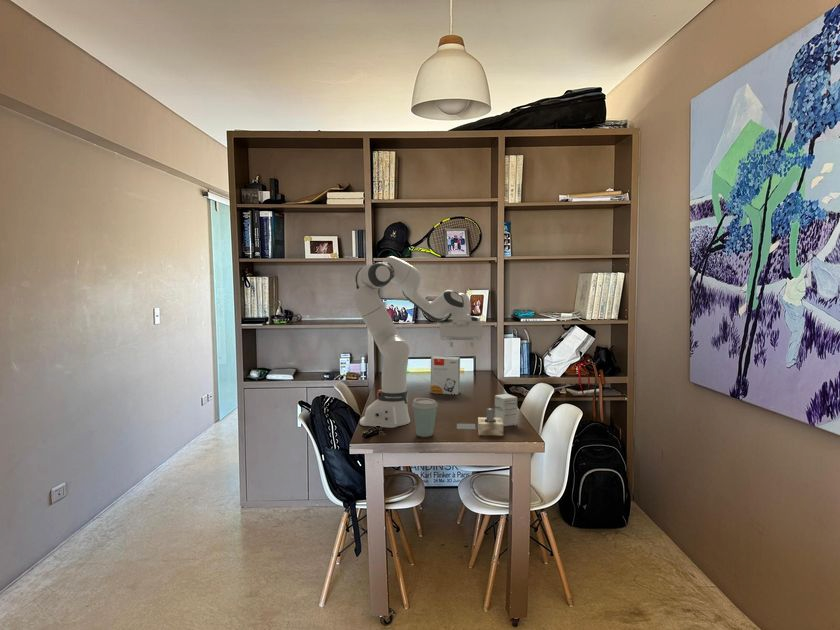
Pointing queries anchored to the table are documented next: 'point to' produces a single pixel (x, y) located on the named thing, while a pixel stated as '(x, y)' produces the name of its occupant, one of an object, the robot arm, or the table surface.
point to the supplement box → (506, 409)
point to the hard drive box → (445, 375)
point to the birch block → (490, 426)
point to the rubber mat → (466, 426)
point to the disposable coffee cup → (424, 416)
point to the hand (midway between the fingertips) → (461, 346)
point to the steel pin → (490, 415)
